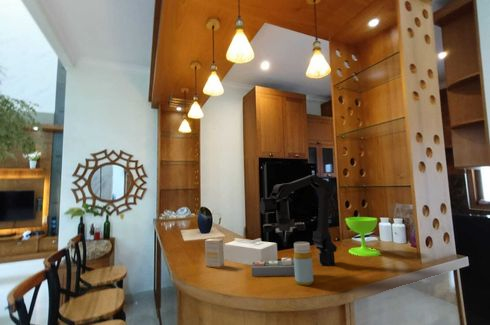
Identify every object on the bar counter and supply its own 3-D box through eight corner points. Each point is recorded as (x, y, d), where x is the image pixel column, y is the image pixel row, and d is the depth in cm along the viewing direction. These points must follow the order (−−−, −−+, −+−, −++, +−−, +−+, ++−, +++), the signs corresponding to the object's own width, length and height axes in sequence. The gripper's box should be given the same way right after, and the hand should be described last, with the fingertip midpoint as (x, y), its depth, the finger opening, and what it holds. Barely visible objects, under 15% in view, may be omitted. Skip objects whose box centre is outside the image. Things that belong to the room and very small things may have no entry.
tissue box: (261, 267, 117) (260, 244, 118) (224, 260, 133) (223, 239, 134) (277, 259, 128) (276, 238, 129) (241, 254, 144) (240, 235, 145)
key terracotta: (264, 265, 112) (264, 260, 112) (264, 268, 108) (264, 263, 108) (255, 265, 112) (255, 260, 112) (255, 268, 108) (255, 263, 108)
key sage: (277, 265, 111) (277, 260, 112) (278, 267, 107) (277, 262, 108) (268, 265, 112) (268, 260, 112) (268, 268, 108) (268, 263, 108)
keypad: (294, 268, 113) (293, 260, 113) (296, 275, 104) (295, 266, 104) (253, 269, 114) (252, 261, 115) (252, 276, 106) (251, 267, 106)
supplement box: (224, 265, 123) (223, 238, 124) (219, 268, 119) (218, 240, 120) (210, 263, 126) (209, 238, 128) (205, 266, 122) (204, 239, 123)
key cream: (290, 262, 111) (290, 257, 111) (291, 264, 107) (291, 259, 107) (281, 262, 111) (281, 257, 111) (282, 265, 107) (282, 260, 108)
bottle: (293, 280, 99) (290, 242, 100) (310, 278, 99) (307, 240, 101) (298, 286, 92) (295, 245, 94) (316, 285, 93) (313, 244, 94)
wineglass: (343, 253, 133) (340, 219, 135) (355, 247, 144) (352, 216, 146) (374, 258, 122) (370, 221, 124) (385, 251, 132) (381, 217, 134)
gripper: (261, 214, 104) (264, 252, 103) (306, 212, 103) (309, 250, 101) (262, 212, 115) (264, 246, 114) (302, 210, 114) (305, 244, 112)
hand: (285, 246), depth 110 cm, fingers closed
